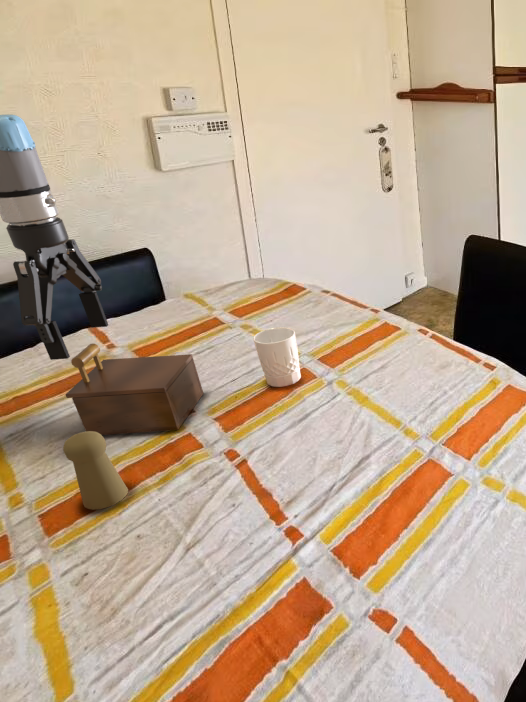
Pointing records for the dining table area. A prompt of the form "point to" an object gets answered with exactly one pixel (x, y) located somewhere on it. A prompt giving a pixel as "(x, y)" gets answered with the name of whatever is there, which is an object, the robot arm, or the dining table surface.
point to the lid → (125, 374)
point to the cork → (94, 470)
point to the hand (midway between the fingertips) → (81, 341)
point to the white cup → (278, 356)
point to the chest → (142, 407)
